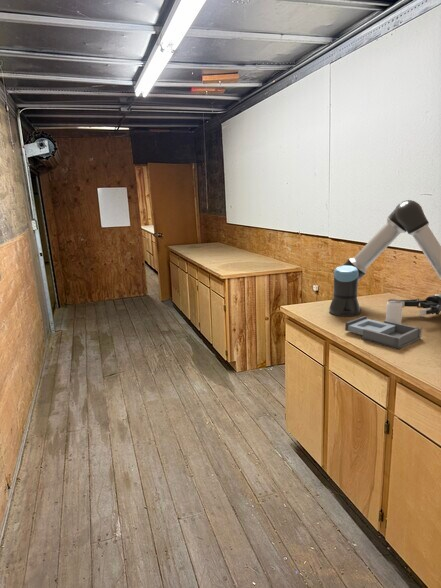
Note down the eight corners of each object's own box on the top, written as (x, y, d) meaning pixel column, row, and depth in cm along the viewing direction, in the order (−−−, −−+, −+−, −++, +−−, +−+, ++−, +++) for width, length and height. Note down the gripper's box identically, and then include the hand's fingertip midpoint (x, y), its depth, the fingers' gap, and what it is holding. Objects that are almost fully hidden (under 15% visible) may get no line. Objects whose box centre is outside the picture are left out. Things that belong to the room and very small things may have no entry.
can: (383, 324, 182) (384, 299, 179) (397, 323, 182) (399, 298, 179) (388, 328, 176) (390, 302, 173) (403, 328, 175) (405, 302, 173)
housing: (361, 339, 164) (362, 329, 163) (384, 329, 174) (385, 320, 173) (398, 349, 152) (399, 338, 151) (420, 338, 162) (421, 328, 161)
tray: (345, 330, 172) (345, 322, 171) (364, 323, 180) (364, 315, 179) (377, 339, 160) (377, 330, 159) (395, 331, 169) (396, 323, 168)
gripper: (461, 316, 180) (431, 324, 171) (412, 304, 202) (384, 311, 192) (462, 300, 178) (433, 308, 169) (414, 290, 200) (385, 296, 190)
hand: (407, 309), depth 181 cm, fingers open, 13 cm apart
